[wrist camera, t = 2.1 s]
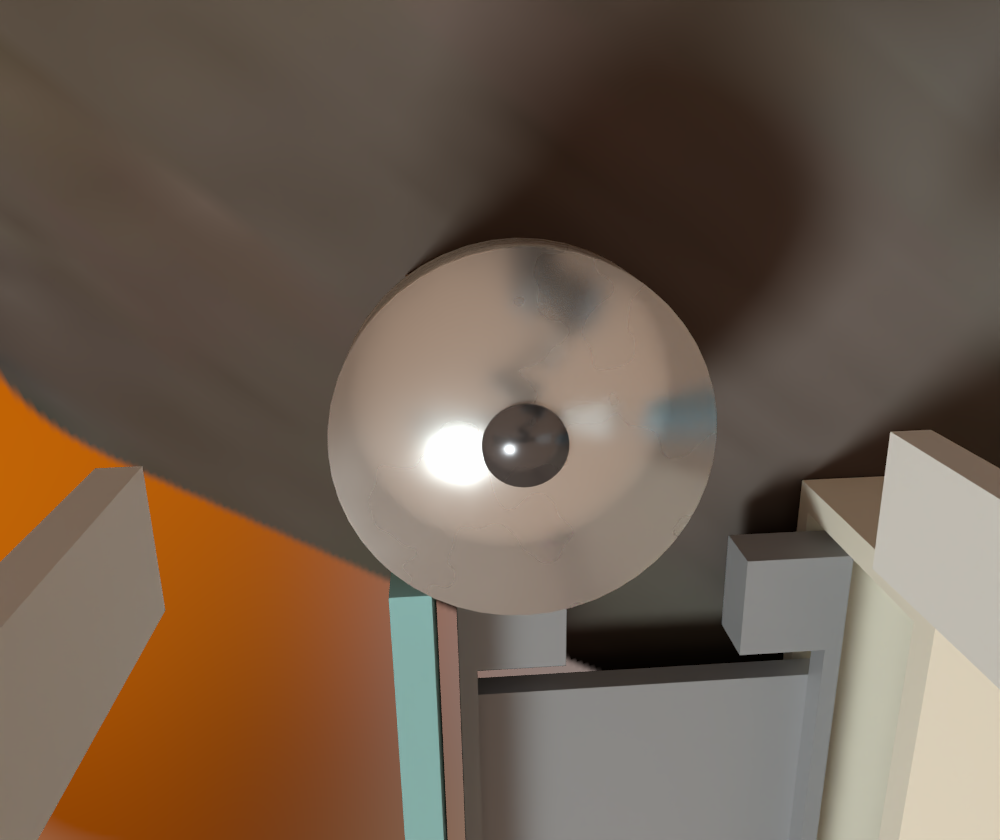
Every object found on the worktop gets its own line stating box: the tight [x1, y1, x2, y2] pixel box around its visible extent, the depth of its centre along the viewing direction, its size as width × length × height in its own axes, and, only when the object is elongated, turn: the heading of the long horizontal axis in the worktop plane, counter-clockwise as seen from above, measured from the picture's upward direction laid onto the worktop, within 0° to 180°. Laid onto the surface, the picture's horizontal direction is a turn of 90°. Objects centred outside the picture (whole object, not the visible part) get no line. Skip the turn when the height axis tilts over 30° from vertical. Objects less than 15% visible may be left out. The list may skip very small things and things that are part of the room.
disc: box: [328, 238, 717, 615], centre depth 18 cm, size 8×8×2 cm
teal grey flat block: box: [389, 530, 853, 840], centre depth 25 cm, size 13×18×5 cm
